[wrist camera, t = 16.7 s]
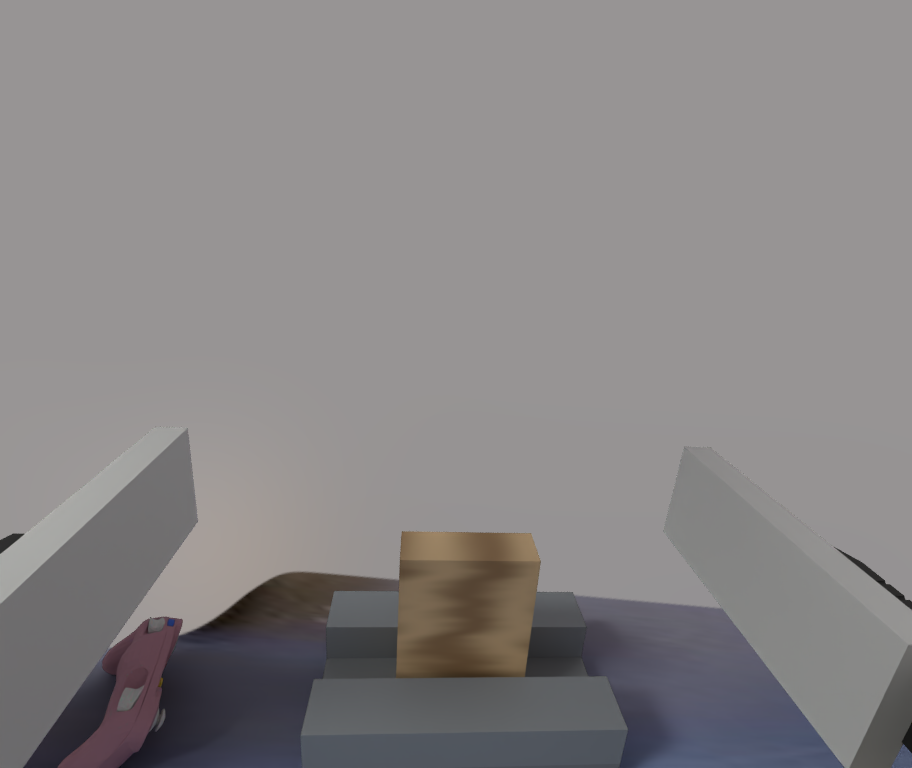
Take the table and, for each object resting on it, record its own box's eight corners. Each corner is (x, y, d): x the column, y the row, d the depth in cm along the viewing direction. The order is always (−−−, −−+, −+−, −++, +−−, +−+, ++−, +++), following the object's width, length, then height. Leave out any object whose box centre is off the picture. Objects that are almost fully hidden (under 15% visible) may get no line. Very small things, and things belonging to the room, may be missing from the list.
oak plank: (395, 702, 35) (399, 560, 31) (397, 666, 38) (401, 531, 34) (521, 701, 36) (540, 561, 32) (514, 665, 38) (530, 533, 35)
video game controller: (126, 806, 31) (171, 719, 30) (40, 802, 29) (85, 709, 28) (165, 671, 39) (201, 601, 38) (101, 661, 38) (137, 588, 37)
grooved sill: (303, 788, 31) (300, 735, 29) (335, 634, 42) (334, 591, 41) (616, 780, 32) (628, 729, 31) (565, 634, 44) (572, 592, 42)
